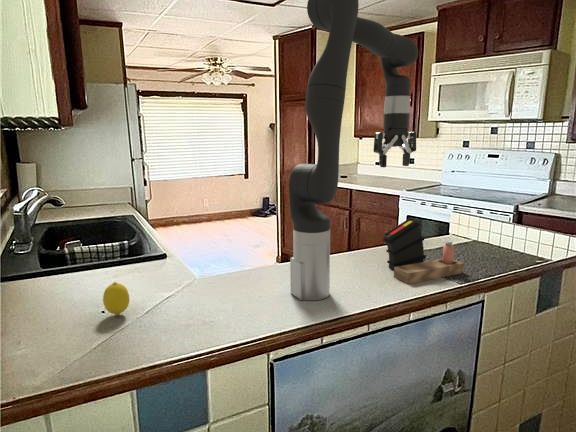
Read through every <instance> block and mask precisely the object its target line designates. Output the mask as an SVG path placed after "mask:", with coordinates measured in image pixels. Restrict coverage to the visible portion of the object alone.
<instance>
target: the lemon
mask: <svg viewBox="0 0 576 432" xmlns="http://www.w3.org/2000/svg"><path fill="white" fill-rule="evenodd" d="M102 303H103V306H104V308H105V310H106V311H107V312H108V313H110V314H112V315H114V316H115V315H116V316H120V314H121V313H123V312H125V311H126V310H127V308H128V306H129V305H130V294H129V291H128V289H127V287H126V285H124V284H122V283H118V282H117V281H114V282H112V283H111V284H110V285H108V286H107V287H106V288H105V289H104V292H103V296H102Z"/></svg>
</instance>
